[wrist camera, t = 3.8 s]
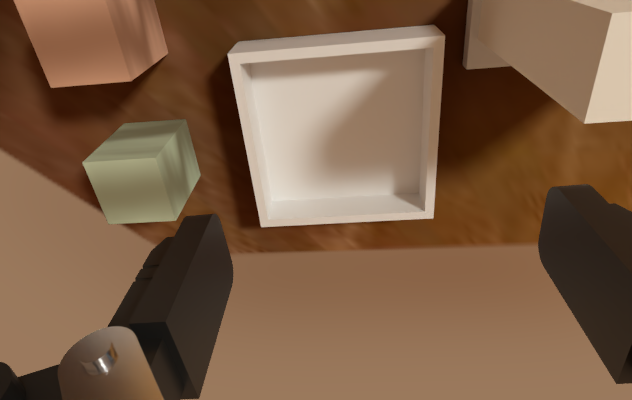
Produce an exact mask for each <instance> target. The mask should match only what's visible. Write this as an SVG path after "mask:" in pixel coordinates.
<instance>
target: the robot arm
mask: <svg viewBox="0 0 632 400" xmlns="http://www.w3.org/2000/svg"><path fill="white" fill-rule="evenodd" d="M538 248H539V254H540V259H541V262H542V264H543V266H544V268H545V269H546V271H547V273H548V274H549V276H550V278H551V279H552V281H553V282H554V284H555V286H556V287H557V289H558V290H559V292H560V293H561V295H562V297H563V299H564V300H565V302H566V303H567V305H568V307H569V308H570V310H571V311H572V313H573V315H574V316H575V318H576V319H577V321H578V322H579V324H580V326H581V328H582V329H583V331H584V332H585V334H586V336H587V337H588V339H589V340H590V342H591V344H592V345H593V347H594V348H595V350H596V352H597V353H598V355H599V357H600V358H601V360H602V361H603V363H604V365H605V366H606V368H607V369H608V371H609V373H610V374H611V376H612V378H613V379H614V381H615V382H616V384H623V383H632V212H631V211H629V210H627V209H625V208H623V207H621V206H619V205H617V204H609V203H608V202H607V201H606V200H605V199H604V198H603V197H602V196H601V195H600V194H599V193H598V192H597V191H596V190H595V189H594V188H593V187H592V186H590V185H588V184H583V185H571V186H559V187H552V188H551V189H550V190H549V191H548V194H547V198H546V203H545V208H544V214H543V219H542V225H541V230H540V235H539V242H538ZM232 283H233V265H232V260H231V256H230V253H229V250H228V246H227V243H226V239H225V236H224V232H223V229H222V225H221V222H220V219H219V217H218V216H217V215H216V214H208V215H196V216H186V217H185V218H184V219H183V221H182V223H181V225H180V227H179V229H178V231H177V232H176V234H175V236H174V237H167V238H165V239H164V240H163V241H162V242H161V243H160V244H159V245H157V246H156V247H155V248H154V249H153V250H152V251H151V252H150V254H149V256H148V258H147V259H146V261H145V263H144V264H143V269H141V270H140V272H139V273H138V275H137V277H136V281H135V282H133V284H132V285H131V287H130V289H129V290H128V292H127V294H126V296H125V298H124V299H123V301H122V303H121V305H120V306H119V308H118V310H117V311H116V313H115V315H114V316H113V318H112V320H111V322H110V323H109V325H108V327H107V328H103V329H100V330H97V331H95V332H93V333H91V334H89V335H87V336H85V337H84V338H82V339H81V340H80V341H78V342H77V343H76V344H75V345H73V346H72V347H71V349H69V350H68V352H67V353H66V354H65V356H64V357H63V359H62V360H61V362H60V364H59V365H56V366H52V367H49V368H46V369H43V370H40V371H36V372H33V373H30V374H27V375H24V376H21V377H17V376H16V375H15V373H14V372H13V371H12V369H11V368H10V367H9V366H8V365H7V364H5V363H2V362H0V400H180V399H198V398H199V397H200V393H201V390H202V386H203V383H204V380H205V376H206V373H207V369H208V366H209V362H210V359H211V355H212V352H213V349H214V345H215V342H216V339H217V335H218V332H219V328H220V325H221V321H222V318H223V315H224V311H225V308H226V304H227V301H228V298H229V294H230V291H231V287H232Z"/></svg>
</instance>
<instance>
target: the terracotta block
mask: <svg viewBox="0 0 632 400" xmlns="http://www.w3.org/2000/svg"><path fill="white" fill-rule="evenodd" d="M14 2H15V5H16V7H17V9H18V12H19V14H20V17H21V19H22V21H23V24H24V26H25V28H26V31H27V33H28V35H29V38H30V40H31V42H32V45H33V47H34V49H35V52H36V54H37V57H38V59H39V61H40V64H41V66H42V68H43V71H44V73H45V75H46V78H47V80H48V82H49V85H50V87H51V88H56V87H68V86H80V85H92V84H104V83H116V82H129V81H132V80H134V79H135V78H136V77H138V76H139V75H140V74H142V73H143V72H144V71H146V70H147V69H148V68H150V67H151V66H152V65H154V64H155V63H156V62H158V61H159V60H160V59H161V58H163V57H164V56H165V55H167V54H168V50H167V47H166V43H165V39H164V35H163V32H162V28H161V24H160V20H159V17H158V13H157V9H156V5H155V2H154V0H14Z"/></svg>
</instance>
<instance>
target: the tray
mask: <svg viewBox="0 0 632 400" xmlns="http://www.w3.org/2000/svg"><path fill="white" fill-rule="evenodd" d="M444 47H445V35H444V34H443V33H442V32H441V31H440V30H439V29H438V28H437V27H436V26H435V25H425V26H413V27H402V28H390V29H379V30H367V31H356V32H344V33H333V34H321V35H310V36H298V37H287V38H276V39H264V40H253V41H241V42H237V43H236V44H235V46H234V47H233V48H232V49H231V50H230V51H229V53H228V54H227V55H228V60H229V65H230V70H231V75H232V81H233V86H234V91H235V96H236V101H237V106H238V111H239V116H240V122H241V127H242V132H243V137H244V142H245V147H246V152H247V158H248V163H249V168H250V173H251V178H252V183H253V188H254V193H255V199H256V204H257V209H258V214H259V219H260V224H261V227H274V226H293V225H313V224H332V223H352V222H371V221H390V220H410V219H429V218H433V215H434V200H435V185H436V169H437V154H438V139H439V124H440V108H441V93H442V78H443V63H444Z"/></svg>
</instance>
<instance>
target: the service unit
mask: <svg viewBox="0 0 632 400" xmlns="http://www.w3.org/2000/svg"><path fill="white" fill-rule="evenodd" d="M463 66H464V67H465V69H466V70H468V69H481V68H494V67H506V66H512V67H513V68H515V69H516V70H517V71H518V72H520V73H521V74H522V75H523V76H525V77H526V78H527V79H528V80H530V81H531V82H532V83H534V84H535V85H536V86H537V87H539V88H540V89H541V90H542V91H544V92H545V93H546V94H547V95H549V96H550V97H551V98H552V99H554V100H555V101H556V102H558V103H559V104H560V105H561V106H563V107H564V108H565V109H566V110H568V111H569V112H570V113H571V114H573V115H574V116H575V117H576V118H578V119H579V120H580V121H582V122H583V123H584V124H586V123H601V122H615V121H630V120H632V0H468V8H467V20H466V31H465V42H464V53H463Z"/></svg>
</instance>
